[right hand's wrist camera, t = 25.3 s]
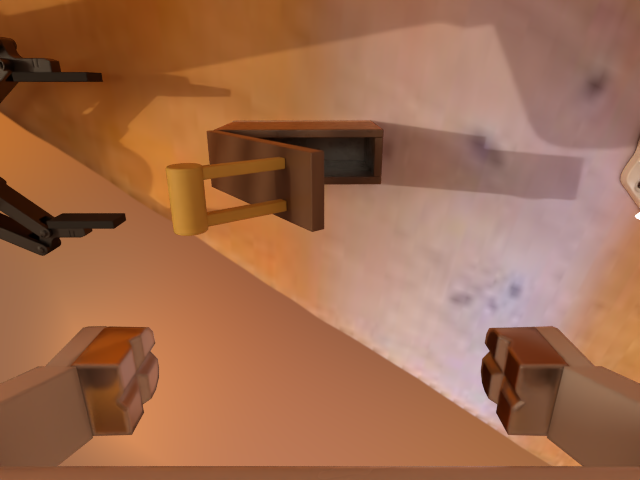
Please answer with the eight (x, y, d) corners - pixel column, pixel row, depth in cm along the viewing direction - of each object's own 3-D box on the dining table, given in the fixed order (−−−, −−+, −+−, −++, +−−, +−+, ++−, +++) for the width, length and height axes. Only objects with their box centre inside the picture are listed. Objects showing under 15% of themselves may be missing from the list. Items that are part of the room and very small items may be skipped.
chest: (370, 120, 46) (383, 129, 37) (369, 165, 48) (380, 184, 38) (234, 120, 46) (213, 129, 37) (237, 165, 48) (217, 184, 38)
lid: (324, 150, 25) (186, 166, 20) (324, 229, 27) (196, 259, 22) (217, 130, 37) (113, 136, 32) (221, 185, 38) (124, 199, 34)
